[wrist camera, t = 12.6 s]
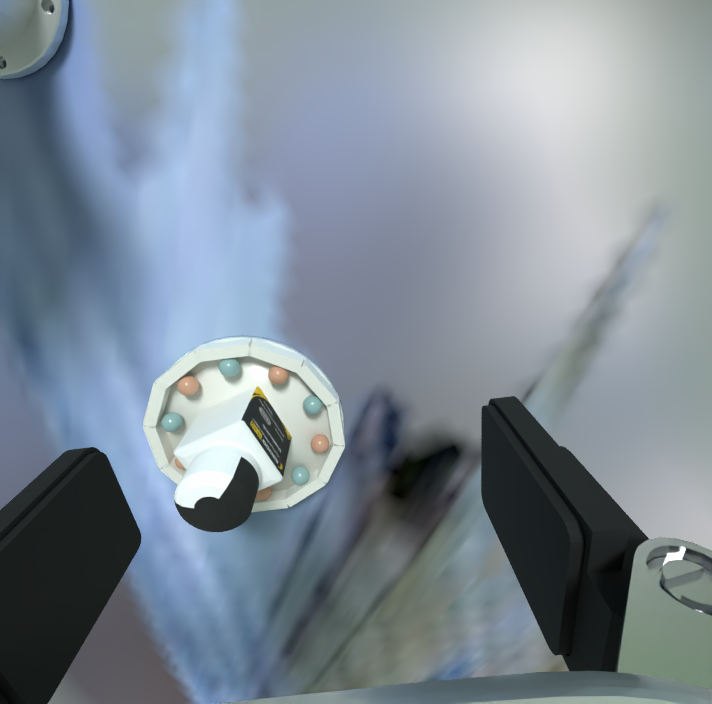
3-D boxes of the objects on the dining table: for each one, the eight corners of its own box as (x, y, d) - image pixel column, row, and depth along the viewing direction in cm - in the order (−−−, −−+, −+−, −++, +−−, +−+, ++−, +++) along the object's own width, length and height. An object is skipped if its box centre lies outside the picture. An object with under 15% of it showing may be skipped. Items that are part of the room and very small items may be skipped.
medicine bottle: (293, 436, 41) (274, 524, 30) (236, 461, 42) (198, 555, 31) (258, 383, 39) (224, 457, 28) (199, 411, 40) (143, 493, 29)
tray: (130, 348, 38) (113, 360, 35) (329, 324, 38) (328, 333, 35) (187, 504, 45) (176, 524, 43) (354, 484, 45) (354, 503, 42)
